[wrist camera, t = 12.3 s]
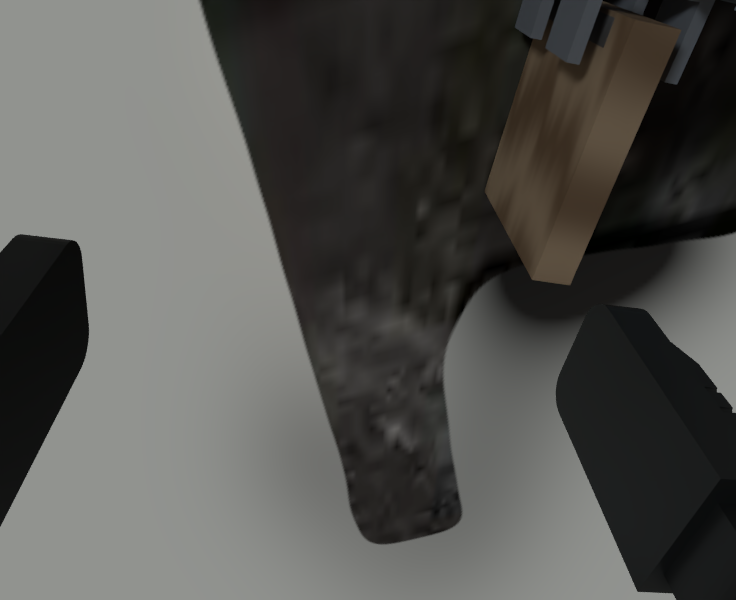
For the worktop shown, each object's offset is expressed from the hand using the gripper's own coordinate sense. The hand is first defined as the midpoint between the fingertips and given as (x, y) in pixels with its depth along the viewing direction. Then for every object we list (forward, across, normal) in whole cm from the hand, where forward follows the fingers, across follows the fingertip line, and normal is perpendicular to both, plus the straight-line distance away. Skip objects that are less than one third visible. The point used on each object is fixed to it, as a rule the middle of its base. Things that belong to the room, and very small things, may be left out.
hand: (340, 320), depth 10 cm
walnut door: (+28, -12, +3) cm, 31 cm away
